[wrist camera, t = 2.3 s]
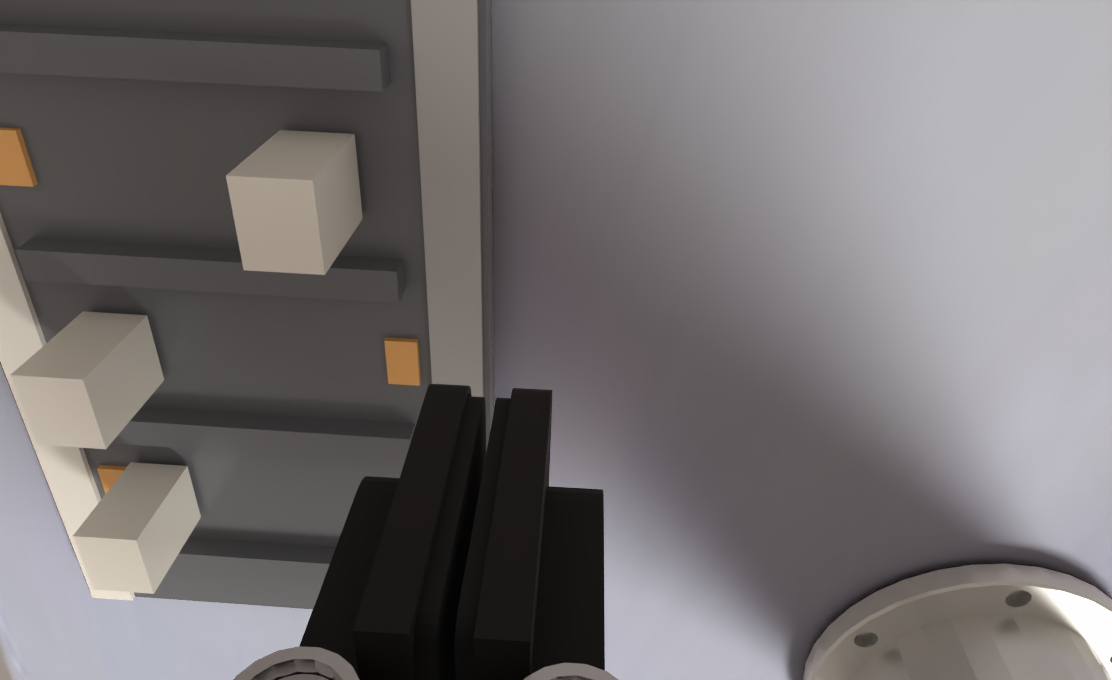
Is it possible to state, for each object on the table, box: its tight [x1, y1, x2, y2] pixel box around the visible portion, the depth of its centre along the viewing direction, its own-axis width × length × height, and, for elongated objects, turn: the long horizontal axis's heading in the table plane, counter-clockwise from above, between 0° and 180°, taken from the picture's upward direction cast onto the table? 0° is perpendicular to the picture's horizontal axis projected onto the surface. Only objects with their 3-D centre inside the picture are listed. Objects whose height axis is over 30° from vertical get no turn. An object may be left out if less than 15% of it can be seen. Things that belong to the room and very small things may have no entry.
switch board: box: [0, 0, 494, 609], centre depth 25 cm, size 24×16×2 cm, turn 178°
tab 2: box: [73, 462, 201, 594], centre depth 27 cm, size 2×2×4 cm
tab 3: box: [226, 130, 363, 275], centre depth 20 cm, size 2×2×4 cm
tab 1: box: [10, 311, 164, 449], centre depth 24 cm, size 2×2×4 cm
